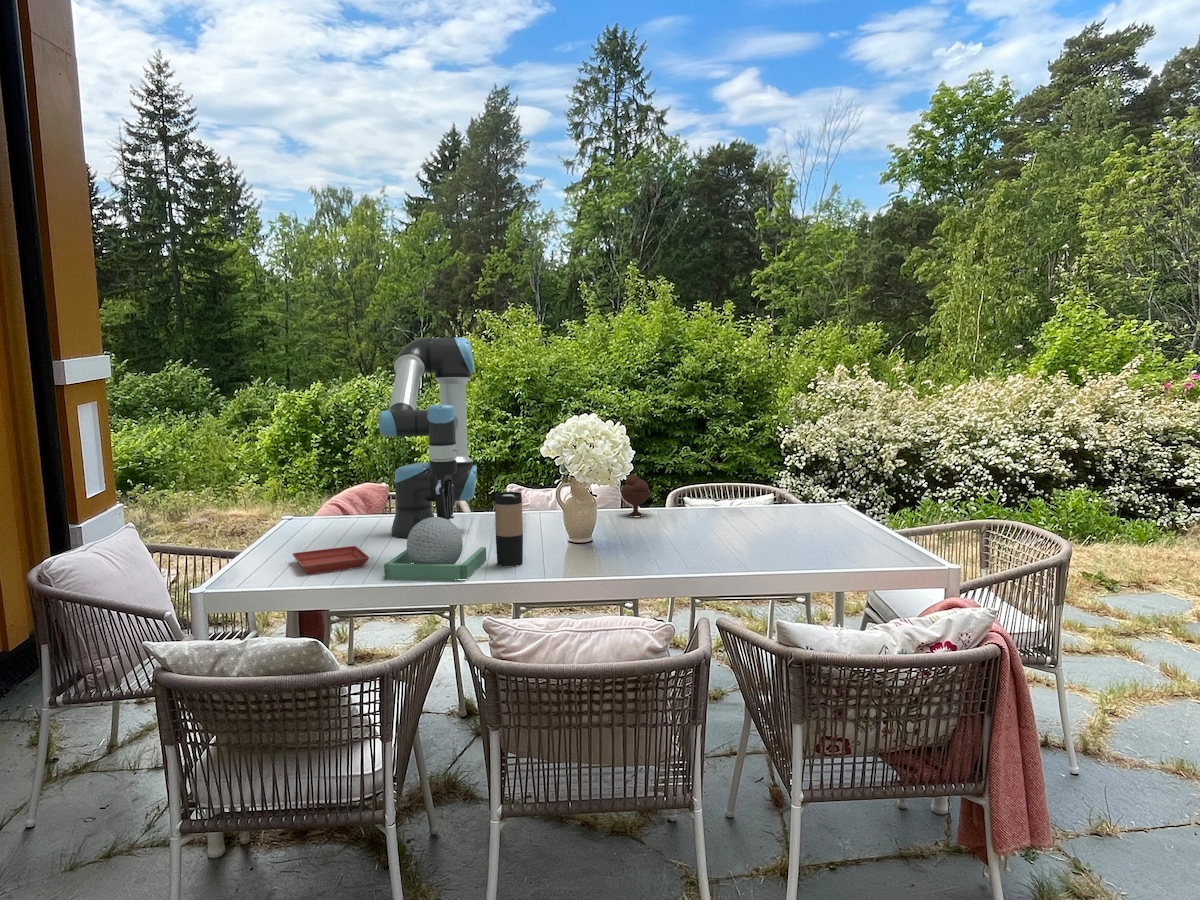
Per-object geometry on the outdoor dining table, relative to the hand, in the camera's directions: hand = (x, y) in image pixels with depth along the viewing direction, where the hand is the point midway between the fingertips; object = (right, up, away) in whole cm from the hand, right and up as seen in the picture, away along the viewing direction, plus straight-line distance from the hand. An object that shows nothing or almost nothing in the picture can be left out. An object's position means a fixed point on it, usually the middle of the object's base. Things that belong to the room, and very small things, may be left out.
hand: (446, 542), depth 231 cm
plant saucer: (-33, -7, 0) cm, 34 cm away
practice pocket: (-1, -7, -6) cm, 9 cm away
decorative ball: (-1, -7, -8) cm, 11 cm away
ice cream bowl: (+57, +2, +66) cm, 87 cm away
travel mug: (+18, -6, -1) cm, 19 cm away
